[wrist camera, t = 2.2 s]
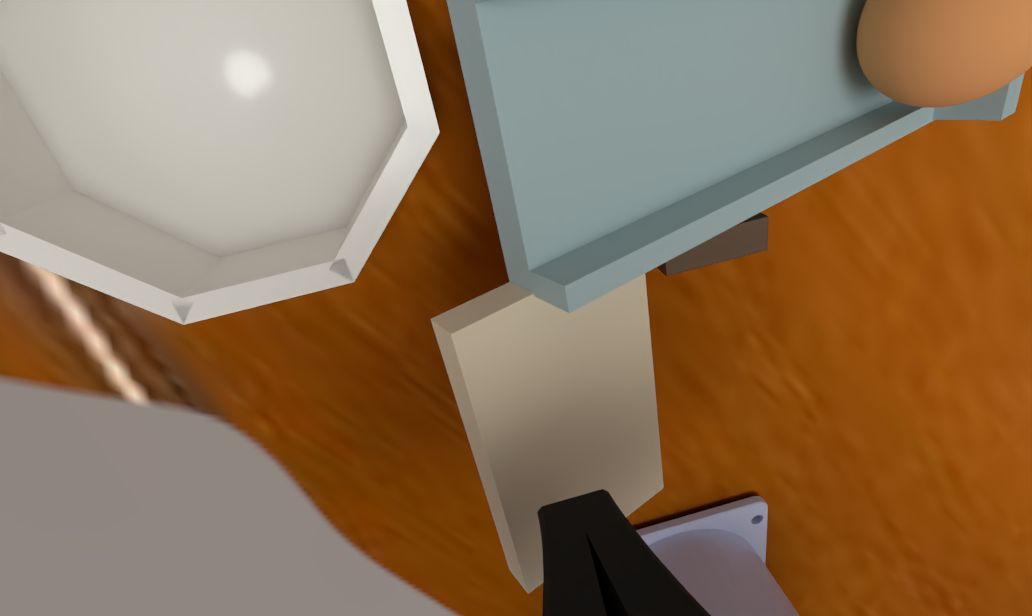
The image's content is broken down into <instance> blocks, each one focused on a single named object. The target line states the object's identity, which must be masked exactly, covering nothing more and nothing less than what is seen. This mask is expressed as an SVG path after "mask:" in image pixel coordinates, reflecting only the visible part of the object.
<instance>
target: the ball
mask: <svg viewBox="0 0 1032 616" xmlns="http://www.w3.org/2000/svg"><path fill="white" fill-rule="evenodd" d="M856 47H857V56H858V60H859V63H860V66H861V68H862V70H863V73H864V75H865V76H866V78H867V79H868V80H869V82H870V83H871V84H872V85H873V86H874V87H875V88H876V89H877V90H878V91H879V92H881V93H882V94H884V95H885V96H886V97H888V98H890V99H892V100H895V101H897V102H899V103H903V104H906V105H910V106H917V107H925V108H927V107H947V106H954V105H958V104H962V103H966V102H970V101H973V100H976V99H978V98H981V97H983V96H986V95H988V94H991V93H993V92H995V91H996V90H998V89H1000V88H1002V87H1004V86H1006V85H1007V84H1009V83H1010V82H1012V81H1013V80H1015V79H1016V78H1018V77H1019V76H1020V75H1022V74H1023V73H1024V72H1026V71H1027V70H1028V69H1029V68H1030V67H1031V66H1032V0H867V1H866V3H865V6H864V8H863V10H862V13H861V17H860V20H859V24H858V29H857V39H856Z"/></svg>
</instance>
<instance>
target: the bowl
mask: <svg viewBox="0 0 1032 616" xmlns="http://www.w3.org/2000/svg"><path fill="white" fill-rule="evenodd" d="M439 133H440V131H439V127H438V123H437V119H436V115H435V111H434V107H433V104H432V100H431V96H430V92H429V88H428V84H427V80H426V76H425V72H424V68H423V64H422V61H421V57H420V53H419V49H418V45H417V41H416V37H415V33H414V29H413V25H412V21H411V17H410V14H409V10H408V6H407V2H406V0H0V251H1V252H3V253H6V254H8V255H11V256H13V257H16V258H18V259H21V260H23V261H26V262H28V263H31V264H33V265H36V266H38V267H41V268H43V269H46V270H48V271H51V272H53V273H56V274H58V275H61V276H63V277H66V278H68V279H71V280H73V281H76V282H78V283H81V284H83V285H86V286H88V287H91V288H93V289H96V290H98V291H101V292H103V293H106V294H108V295H111V296H113V297H116V298H118V299H121V300H123V301H126V302H128V303H131V304H133V305H136V306H138V307H141V308H143V309H146V310H148V311H151V312H153V313H156V314H158V315H161V316H163V317H166V318H168V319H171V320H173V321H176V322H178V323H181V324H183V325H185V324H189V323H193V322H197V321H201V320H205V319H209V318H213V317H217V316H221V315H225V314H229V313H233V312H237V311H241V310H245V309H249V308H253V307H257V306H261V305H265V304H269V303H273V302H277V301H281V300H285V299H289V298H293V297H297V296H301V295H305V294H309V293H313V292H317V291H321V290H325V289H329V288H333V287H337V286H341V285H345V284H349V283H353V282H355V280H356V278H357V276H358V275H359V273H360V271H361V269H362V268H363V266H364V264H365V262H366V261H367V259H368V257H369V255H370V254H371V252H372V250H373V248H374V247H375V245H376V243H377V241H378V240H379V238H380V236H381V234H382V233H383V231H384V229H385V227H386V226H387V224H388V222H389V220H390V219H391V217H392V215H393V213H394V212H395V210H396V208H397V206H398V205H399V203H400V201H401V199H402V198H403V196H404V194H405V193H406V191H407V189H408V187H409V186H410V184H411V182H412V180H413V179H414V177H415V175H416V173H417V172H418V170H419V168H420V166H421V165H422V163H423V161H424V159H425V158H426V156H427V154H428V152H429V151H430V149H431V147H432V145H433V144H434V142H435V140H436V138H437V137H438V135H439Z"/></svg>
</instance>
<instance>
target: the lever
mask: <svg viewBox="0 0 1032 616" xmlns="http://www.w3.org/2000/svg"><path fill="white" fill-rule="evenodd" d="M446 1H447V5H448V9H449V14H450V18H451V23H452V27H453V32H454V36H455V41H456V45H457V50H458V54H459V59H460V63H461V68H462V72H463V76H464V81H465V85H466V90H467V94H468V99H469V103H470V108H471V112H472V117H473V121H474V126H475V130H476V135H477V139H478V143H479V148H480V152H481V157H482V161H483V166H484V170H485V175H486V179H487V184H488V188H489V193H490V197H491V201H492V206H493V210H494V215H495V219H496V224H497V228H498V233H499V237H500V242H501V246H502V251H503V255H504V260H505V264H506V268H507V273H508V277H509V282H508V283H506V284H504V285H502V286H500V287H498V288H495V289H493V290H491V291H489V292H487V293H485V294H483V295H481V296H478V297H476V298H474V299H472V300H470V301H468V302H466V303H463V304H461V305H459V306H457V307H455V308H453V309H451V310H449V311H446V312H444V313H442V314H440V315H438V316H436V317H434V318H431V322H432V326H433V329H434V332H435V335H436V338H437V342H438V345H439V348H440V351H441V354H442V357H443V361H444V364H445V367H446V370H447V373H448V376H449V380H450V383H451V386H452V389H453V392H454V396H455V399H456V402H457V405H458V408H459V411H460V415H461V418H462V421H463V424H464V427H465V430H466V434H467V437H468V440H469V443H470V446H471V449H472V453H473V456H474V459H475V462H476V465H477V469H478V472H479V475H480V478H481V481H482V484H483V488H484V491H485V494H486V497H487V500H488V503H489V507H490V510H491V513H492V516H493V519H494V523H495V526H496V529H497V532H498V535H499V538H500V542H501V545H502V548H503V551H504V554H505V557H506V561H507V564H508V567H509V570H510V571H511V572H512V574H513V575H514V576H515V578H516V579H517V580H518V581H519V583H520V584H521V585H522V587H523V588H524V589H525V591H526V592H527V593H528V594H529V593H530V592H532V591H533V590H534V589H535V588H537V587H538V586H539V585H541V584H542V583H543V551H542V538H541V530H540V523H539V518H538V514H537V512H538V510H539V509H540V508H541V507H542V506H544V505H548V504H551V503H555V502H559V501H562V500H566V499H569V498H573V497H576V496H580V495H583V494H587V493H590V492H594V491H597V490H601V489H604V490H606V491H608V492H609V493H610V495H611V497H612V498H613V500H614V501H615V503H616V504H617V506H618V507H619V508H620V510H621V511H622V513H623V514H624V516H625V517H627V516H629V515H630V514H631V513H632V512H634V511H635V510H636V509H637V508H639V507H640V506H641V505H643V504H644V503H645V502H646V501H648V500H649V499H650V498H652V497H653V496H654V495H655V494H657V493H658V492H659V491H660V490H662V489H663V488H664V484H663V472H662V461H661V449H660V438H659V426H658V415H657V403H656V392H655V380H654V369H653V358H652V346H651V335H650V323H649V312H648V300H647V289H646V277H645V273H646V272H648V271H650V270H652V269H654V268H656V267H658V266H660V265H662V264H663V263H665V262H667V261H669V260H671V259H673V258H675V257H677V256H679V255H680V254H682V253H684V252H686V251H688V250H690V249H692V248H694V247H696V246H697V245H699V244H701V243H703V242H705V241H707V240H709V239H711V238H713V237H714V236H716V235H718V234H720V233H722V232H724V231H726V230H728V229H730V228H731V227H733V226H735V225H737V224H739V223H741V222H743V221H745V220H747V219H748V218H750V217H752V216H754V215H756V214H758V213H760V212H762V211H764V210H765V209H767V208H769V207H771V206H773V205H775V204H777V203H779V202H781V201H782V200H784V199H786V198H788V197H790V196H792V195H794V194H796V193H798V192H799V191H801V190H803V189H805V188H807V187H809V186H811V185H813V184H815V183H816V182H818V181H820V180H822V179H824V178H826V177H828V176H830V175H832V174H833V173H835V172H837V171H839V170H841V169H843V168H845V167H847V166H849V165H850V164H852V163H854V162H856V161H858V160H860V159H862V158H864V157H866V156H867V155H869V154H871V153H873V152H875V151H877V150H879V149H881V148H883V147H884V146H886V145H888V144H890V143H892V142H894V141H896V140H898V139H900V138H901V137H903V136H905V135H907V134H909V133H911V132H913V131H915V130H917V129H918V128H920V127H922V126H924V125H926V124H928V123H930V122H932V121H934V120H935V119H944V120H1002V119H1004V118H1006V117H1007V116H1009V115H1011V114H1012V113H1014V112H1015V110H1016V106H1017V102H1018V98H1019V94H1020V89H1021V85H1022V81H1023V77H1024V73H1025V72H1024V73H1023V74H1022V75H1020V76H1019V77H1018V78H1016V79H1015V80H1013V81H1012V82H1010V83H1009V84H1007V85H1006V86H1004V87H1002V88H1000V89H998V90H996V91H995V92H993V93H991V94H988V95H986V96H983V97H981V98H978V99H976V100H973V101H970V102H966V103H962V104H958V105H954V106H947V107H927V108H925V107H917V106H910V105H906V104H903V103H899V102H897V101H895V100H892V99H890V98H888V97H886V96H885V95H884V94H882V93H881V92H879V91H878V90H877V89H876V88H875V87H874V86H873V85H872V84H871V83H870V82H869V80H868V79H867V78H866V76H865V75H864V73H863V70H862V68H861V66H860V63H859V60H858V56H857V47H856V39H857V29H858V24H859V20H860V17H861V13H862V10H863V8H864V6H865V3H866V1H867V0H446Z"/></svg>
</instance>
